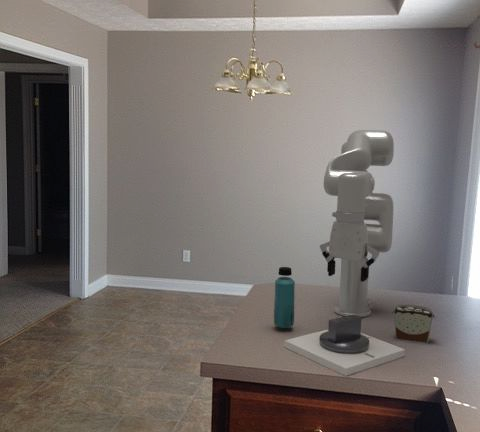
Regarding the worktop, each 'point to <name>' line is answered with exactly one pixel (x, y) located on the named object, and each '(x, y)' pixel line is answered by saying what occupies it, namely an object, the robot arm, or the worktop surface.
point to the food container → (412, 323)
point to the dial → (344, 336)
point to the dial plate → (343, 361)
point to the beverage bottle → (284, 299)
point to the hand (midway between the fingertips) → (347, 277)
